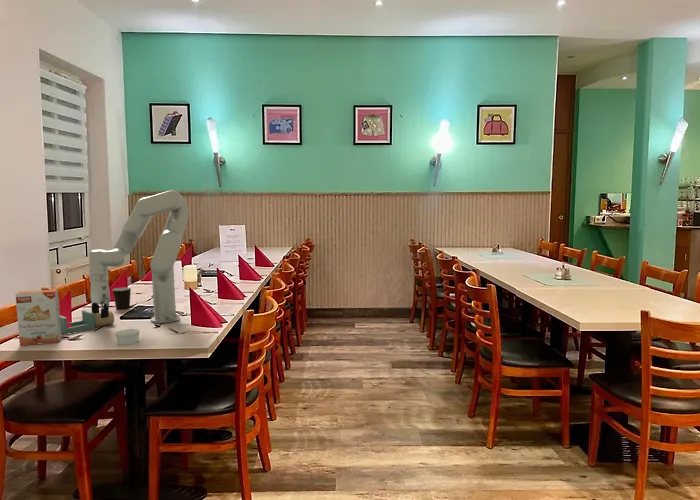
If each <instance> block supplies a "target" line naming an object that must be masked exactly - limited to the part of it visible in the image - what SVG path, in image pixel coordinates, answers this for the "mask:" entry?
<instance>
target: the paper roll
mask: <svg viewBox="0 0 700 500" xmlns="http://www.w3.org/2000/svg"><path fill="white" fill-rule="evenodd" d="M94 321H95V328H99V327H104V326H109V325H113V324H114V323H115V316H114V313H113V311H112V310H109V317H106V318H101V312H99V313H96V314H94Z"/></svg>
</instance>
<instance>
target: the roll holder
mask: <svg viewBox="0 0 700 500" xmlns="http://www.w3.org/2000/svg"><path fill="white" fill-rule="evenodd" d="M81 317H82V319H81V320H78V321H71V322H69V323H70V324H71V326H72V327H69V328H68V327H67V323H68V318H67V317H66V316H63V315H60V323H61V332H62V333H64V334H67V335H69V334H68V333H72V334H75V333H74V332H77V333H81V332H80V331H82V332H86V331H90V330H91V331H92V330H95V329H96V327H95V321H94V313H92V311H89V310H86V309H83V310H81ZM62 333H61V334H62ZM64 334H63V335H64Z"/></svg>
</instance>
